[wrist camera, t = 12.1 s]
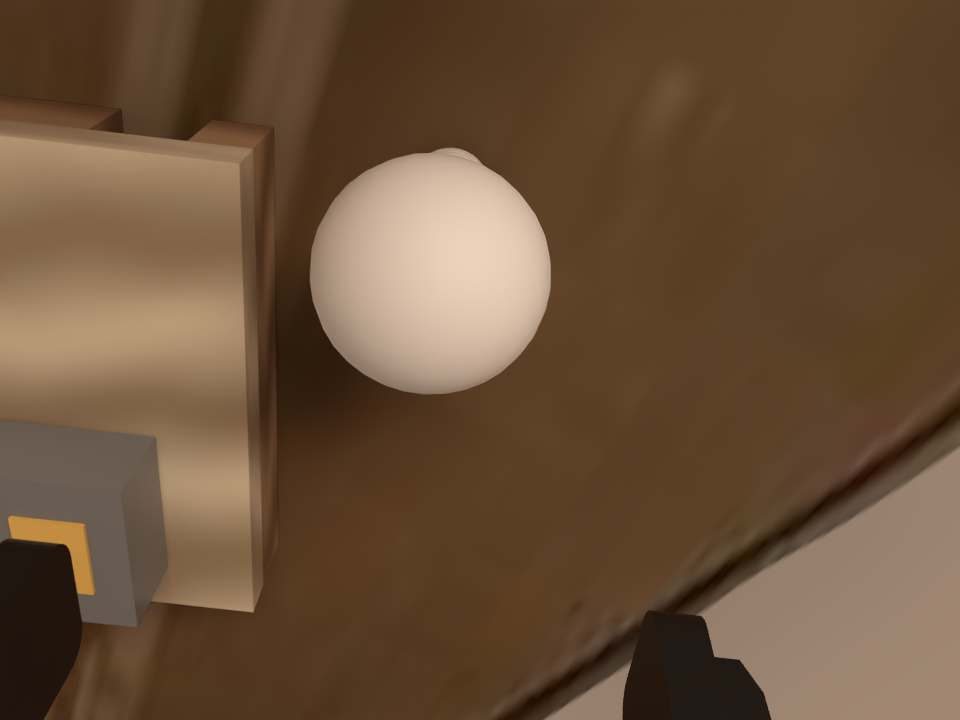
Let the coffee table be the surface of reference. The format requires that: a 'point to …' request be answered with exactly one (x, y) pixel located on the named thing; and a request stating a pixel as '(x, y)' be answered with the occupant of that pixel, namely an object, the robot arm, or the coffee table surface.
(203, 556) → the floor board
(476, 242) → the lightbulb
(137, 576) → the grey box
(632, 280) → the coffee table surface
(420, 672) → the coffee table surface
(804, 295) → the coffee table surface
